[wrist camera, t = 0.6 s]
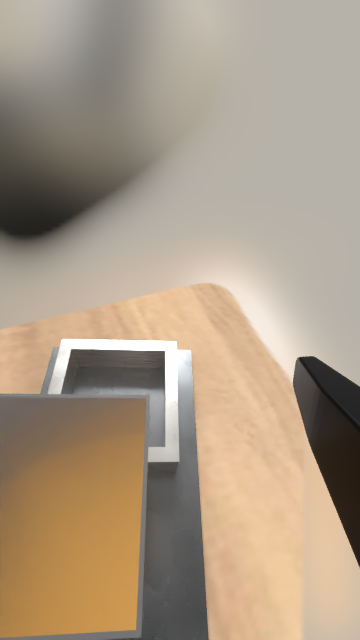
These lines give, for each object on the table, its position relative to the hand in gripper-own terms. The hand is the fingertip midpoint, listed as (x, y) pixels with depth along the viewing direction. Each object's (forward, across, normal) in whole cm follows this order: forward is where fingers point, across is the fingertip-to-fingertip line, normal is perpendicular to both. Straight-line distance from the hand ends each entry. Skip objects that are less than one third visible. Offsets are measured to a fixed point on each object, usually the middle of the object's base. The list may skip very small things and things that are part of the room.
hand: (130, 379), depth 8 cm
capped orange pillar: (+2, +4, +13) cm, 13 cm away
